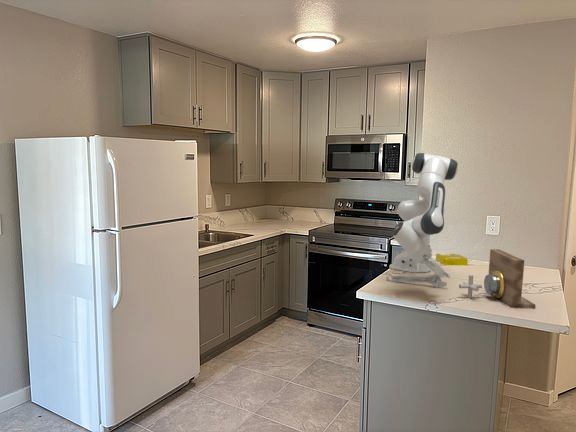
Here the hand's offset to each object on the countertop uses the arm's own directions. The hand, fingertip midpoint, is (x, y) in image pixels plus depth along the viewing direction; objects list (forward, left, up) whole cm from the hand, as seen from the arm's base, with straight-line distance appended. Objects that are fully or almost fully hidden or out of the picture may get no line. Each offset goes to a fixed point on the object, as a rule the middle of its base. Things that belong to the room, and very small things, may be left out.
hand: (442, 275), depth 194 cm
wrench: (-13, +14, -10) cm, 22 cm away
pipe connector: (+11, +5, -10) cm, 16 cm away
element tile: (-6, +80, -10) cm, 80 cm away
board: (+27, +12, -9) cm, 31 cm away
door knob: (+20, +9, -9) cm, 24 cm away
